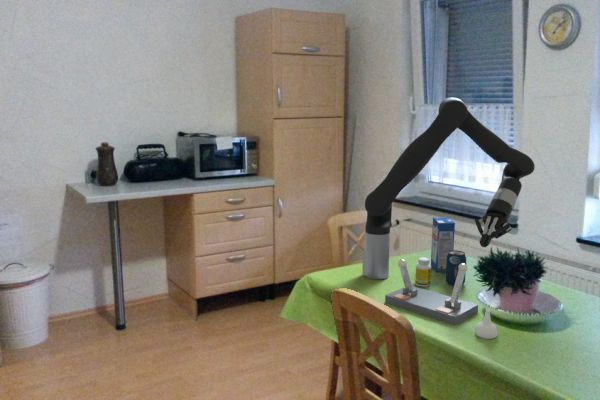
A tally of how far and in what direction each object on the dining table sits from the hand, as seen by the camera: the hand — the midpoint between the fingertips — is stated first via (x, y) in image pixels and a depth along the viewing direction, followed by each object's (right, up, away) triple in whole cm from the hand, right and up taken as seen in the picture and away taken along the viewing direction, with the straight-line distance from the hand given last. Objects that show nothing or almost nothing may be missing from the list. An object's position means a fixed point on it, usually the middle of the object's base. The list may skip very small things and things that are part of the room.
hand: (482, 245), depth 184 cm
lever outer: (-13, -18, -9) cm, 24 cm away
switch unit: (-18, -20, -3) cm, 27 cm away
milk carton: (-5, -13, +36) cm, 39 cm away
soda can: (-4, -16, +19) cm, 25 cm away
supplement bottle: (-16, -16, +18) cm, 29 cm away
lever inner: (-24, -16, +2) cm, 29 cm away
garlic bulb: (-7, -24, -24) cm, 35 cm away
